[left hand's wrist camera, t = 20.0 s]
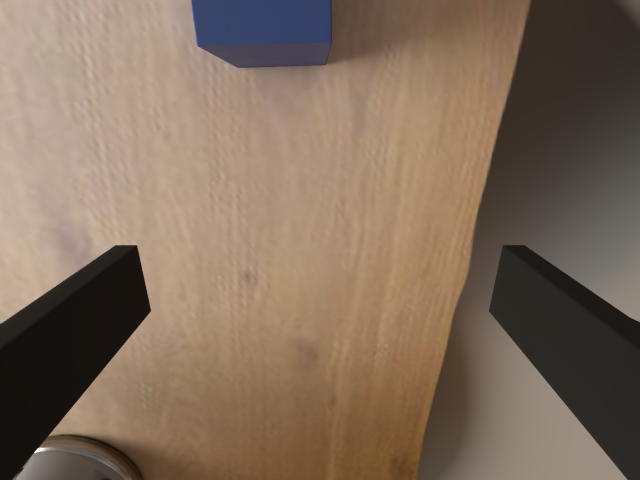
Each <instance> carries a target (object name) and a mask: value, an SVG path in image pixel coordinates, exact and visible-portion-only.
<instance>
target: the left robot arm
mask: <svg viewBox="0 0 640 480" xmlns="http://www.w3.org/2000/svg"><path fill="white" fill-rule="evenodd" d="M150 312H151V309H150V304H149V299H148V294H147V290H146V285H145V280H144V276H143V271H142V266H141V262H140V257H139V252H138V248H137V245H116V246H114V247H113V248H111V249H110V250H108V251H107V252H105V253H104V254H102V255H101V256H99V257H98V258H97V259H95V260H94V261H92V262H91V263H89V264H88V265H86V266H85V267H83V268H82V269H80V270H79V271H78V272H76V273H75V274H73V275H72V276H70V277H69V278H67V279H66V280H64V281H63V282H61V283H60V284H59V285H57V286H56V287H54V288H53V289H51V290H50V291H48V292H47V293H45V294H44V295H42V296H41V297H40V298H38V299H37V300H35V301H34V302H32V303H31V304H29V305H28V306H26V307H25V308H23V309H22V310H21V311H19V312H18V313H16V314H15V315H13V316H12V317H10V318H9V319H7V320H6V321H4V322H3V323H1V324H0V480H142V478H141V475H140V473H139V472H138V470H137V469H136V467H135V466H134V465H133V464H132V462H131V461H130V460H128V459H127V458H126V457H125V456H124V455H122V454H121V453H120V452H118V451H116V450H115V449H113V448H111V447H109V446H107V445H105V444H102V443H100V442H97V441H94V440H90V439H86V438H81V437H74V436H53V437H48V436H49V434H50V433H51V432H52V431H53V430H54V428H55V427H56V426H57V425H58V424H59V422H60V421H61V420H62V419H63V417H64V416H65V415H66V414H67V413H68V411H69V410H70V409H71V408H72V407H73V405H74V404H75V403H76V402H77V400H78V399H79V398H80V397H81V396H82V394H83V393H84V392H85V391H86V389H87V388H88V387H89V386H90V385H91V383H92V382H93V381H94V380H95V379H96V377H97V376H98V375H99V374H100V372H101V371H102V370H103V369H104V368H105V366H106V365H107V364H108V363H109V362H110V360H111V359H112V358H113V357H114V355H115V354H116V353H117V352H118V351H119V349H120V348H121V347H122V346H123V344H124V343H125V342H126V341H127V340H128V338H129V337H130V336H131V335H132V334H133V332H134V331H135V330H136V329H137V327H138V326H139V325H140V324H141V323H142V321H143V320H144V319H145V318H146V317H147V315H148V314H149V313H150ZM489 312H490V313H491V314H492V315H493V316H494V318H495V319H496V320H497V321H498V323H499V324H500V325H501V326H502V327H503V329H504V330H505V331H506V332H507V334H508V335H509V336H510V337H511V338H512V340H513V341H514V342H515V343H516V344H517V346H518V347H519V348H520V349H521V351H522V352H523V353H524V354H525V355H526V357H527V358H528V359H529V360H530V362H531V363H532V364H533V365H534V366H535V368H536V369H537V370H538V371H539V372H540V374H541V375H542V376H543V377H544V379H545V380H546V381H547V382H548V383H549V385H550V386H551V387H552V388H553V389H554V391H555V392H556V393H557V394H558V396H559V397H560V398H561V399H562V400H563V402H564V403H565V404H566V405H567V407H568V408H569V409H570V410H571V411H572V413H573V414H574V415H575V416H576V417H577V419H578V420H579V421H580V422H581V424H582V425H583V426H584V427H585V428H586V430H587V431H588V432H589V433H590V434H591V436H592V437H593V438H594V439H595V441H596V442H597V443H598V444H599V445H600V447H601V448H602V449H603V450H604V451H605V453H606V454H607V455H608V456H609V458H610V459H611V460H612V461H613V462H614V464H615V465H616V466H617V467H618V469H619V470H620V471H621V472H622V473H623V475H624V476H625V477H626V478H627V479H628V480H640V322H638V321H636V320H634V319H632V318H630V317H628V316H627V315H625V314H624V313H622V312H621V311H619V310H618V309H617V308H615V307H614V306H612V305H611V304H609V303H608V302H606V301H605V300H603V299H602V298H600V297H599V296H598V295H596V294H595V293H593V292H592V291H590V290H589V289H587V288H586V287H584V286H583V285H581V284H580V283H578V282H577V281H576V280H574V279H573V278H571V277H570V276H568V275H567V274H565V273H564V272H562V271H561V270H560V269H558V268H557V267H555V266H554V265H552V264H551V263H549V262H548V261H546V260H545V259H543V258H542V257H540V256H539V255H538V254H536V253H535V252H533V251H532V250H530V249H529V248H527V247H526V246H524V245H503V248H502V252H501V257H500V262H499V267H498V271H497V276H496V280H495V285H494V290H493V294H492V299H491V304H490V309H489Z"/></svg>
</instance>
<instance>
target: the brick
mask: <svg viewBox="0 0 640 480" xmlns="http://www.w3.org/2000/svg"><path fill="white" fill-rule="evenodd" d="M191 6H192V13H193V20H194V27H195V34H196V42H197V46H199V47H200V48H202V49H204V50H206V51H208V52H210V53H211V54H213V55H215V56H217V57H219V58H221V59H223V60H224V61H226V62H228V63H230V64H232V65H234V66H236V67H237V68H244V67H277V66H310V65H326V62H327V58H328V54H329V50H330V46H331V42H332V18H331V0H191Z"/></svg>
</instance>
